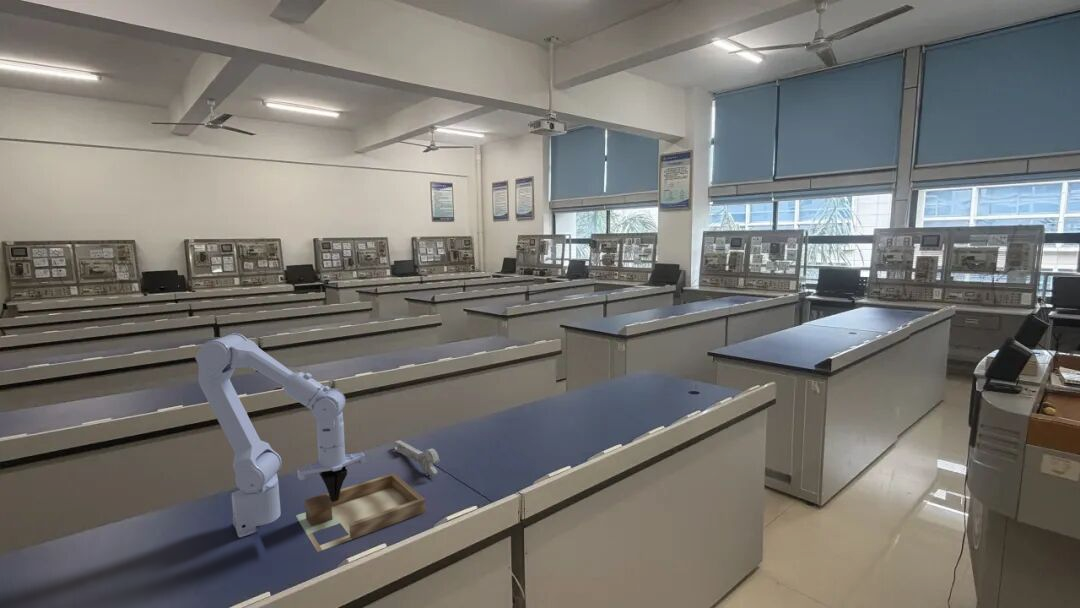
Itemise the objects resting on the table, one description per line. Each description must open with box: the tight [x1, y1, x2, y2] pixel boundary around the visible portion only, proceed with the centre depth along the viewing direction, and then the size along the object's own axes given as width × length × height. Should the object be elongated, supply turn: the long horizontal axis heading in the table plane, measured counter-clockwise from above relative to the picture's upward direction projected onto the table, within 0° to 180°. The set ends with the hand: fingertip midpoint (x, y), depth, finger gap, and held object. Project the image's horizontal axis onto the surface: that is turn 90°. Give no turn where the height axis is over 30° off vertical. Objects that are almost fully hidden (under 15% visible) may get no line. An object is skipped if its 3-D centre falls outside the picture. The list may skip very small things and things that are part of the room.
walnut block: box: [304, 492, 332, 527], centre depth 114 cm, size 4×4×4 cm
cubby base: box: [295, 472, 426, 553], centre depth 116 cm, size 24×18×4 cm
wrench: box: [393, 439, 440, 477], centre depth 145 cm, size 8×2×30 cm
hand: (334, 499), depth 116 cm, fingers closed
